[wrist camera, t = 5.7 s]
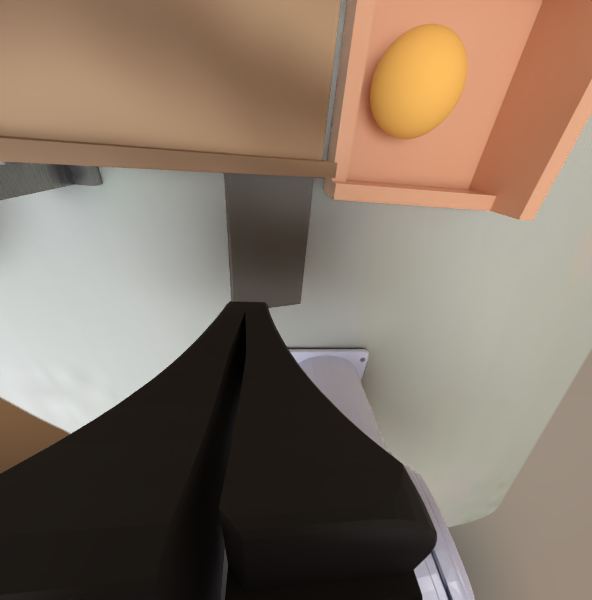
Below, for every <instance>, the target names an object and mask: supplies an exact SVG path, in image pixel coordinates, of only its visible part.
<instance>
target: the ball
mask: <svg viewBox="0 0 592 600" xmlns="http://www.w3.org/2000/svg"><path fill="white" fill-rule="evenodd" d="M467 67H468V63H467V54H466V50H465V47H464V45H463V42H462V41H461V39H460V37H459V36H458V35H457V34H456V33H455V32H454V31H453V30H451V29H450V28H448V27H446V26H443V25H440V24H424V25H420V26H417V27H414V28H412V29H410V30H408V31H407V32H405V33H404V34H402V35H401V36H400V37H398V38H397V39H396V40H395V41H394V42H393V43H392V44H391V45H390V46H389V48H388V49H387V50H386V51H385V53H384V54H383V56H382V57H381V59H380V61H379V63H378V65H377V67H376V69H375V72H374V75H373V78H372V83H371V88H370V107H371V111H372V114H373V117H374V119H375V121H376V123H377V125H378V126H379V127H380V128H381V129H382V130H383V131H384V132H385V133H386V134H388V135H390V136H392V137H395V138H399V139H412V138H417V137H420V136H422V135H425V134H427V133H429V132H430V131H432V130H433V129H435V128H436V127H437V126H439V125H440V124H441V123H442V122H443V121H444V120H445V119H446V118H447V117H448V116H449V114H450V113H451V112H452V111H453V109H454V107H455V106H456V104H457V103H458V101H459V99H460V97H461V94H462V92H463V89H464V85H465V82H466V77H467Z"/></svg>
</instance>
